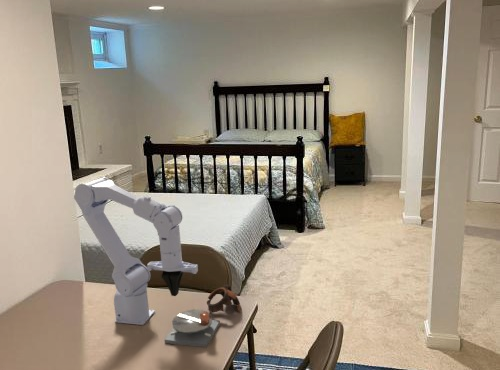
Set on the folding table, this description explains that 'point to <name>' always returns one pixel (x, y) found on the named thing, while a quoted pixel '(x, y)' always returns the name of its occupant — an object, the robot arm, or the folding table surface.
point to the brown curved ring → (223, 299)
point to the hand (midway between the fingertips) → (174, 294)
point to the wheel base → (193, 336)
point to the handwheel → (192, 321)
